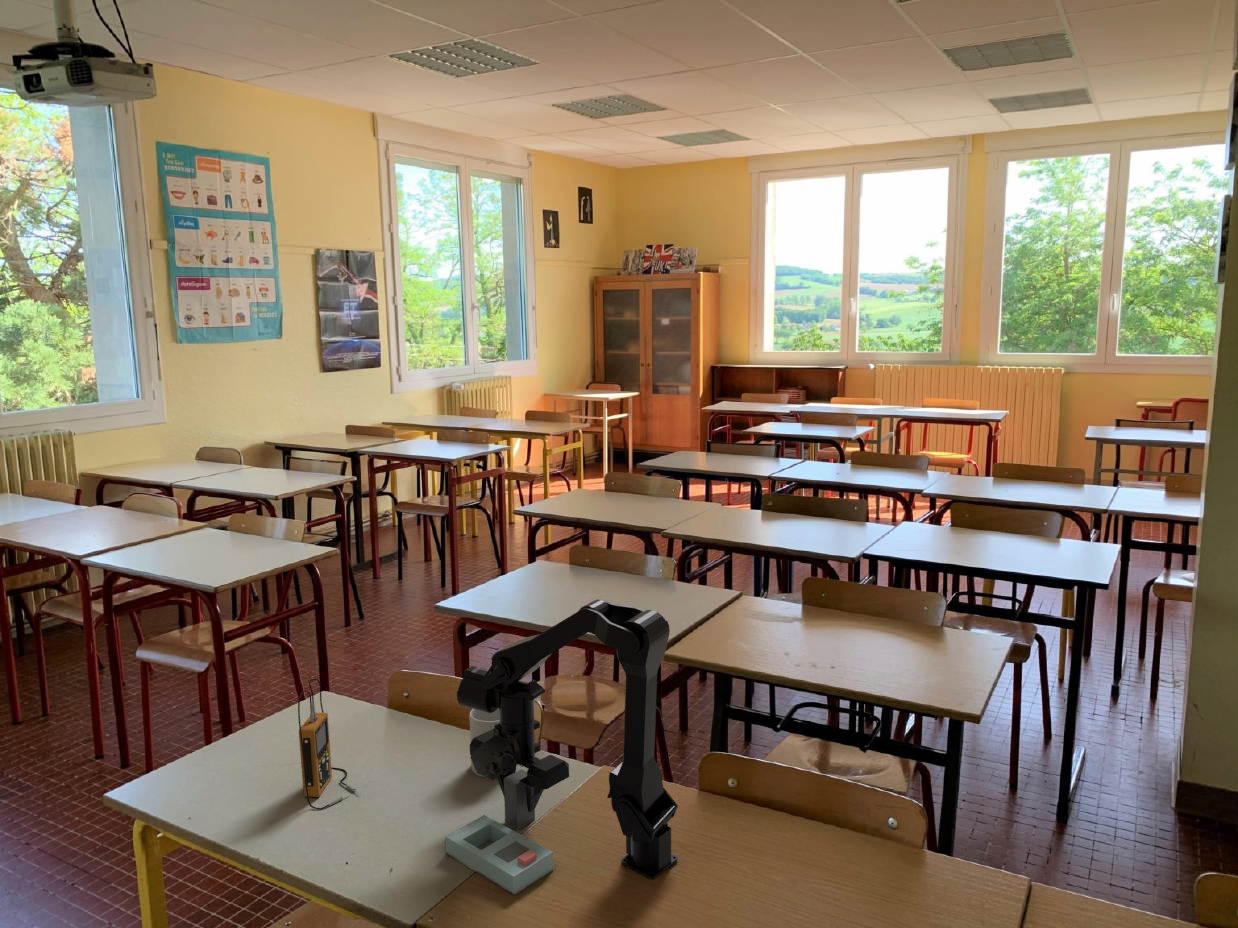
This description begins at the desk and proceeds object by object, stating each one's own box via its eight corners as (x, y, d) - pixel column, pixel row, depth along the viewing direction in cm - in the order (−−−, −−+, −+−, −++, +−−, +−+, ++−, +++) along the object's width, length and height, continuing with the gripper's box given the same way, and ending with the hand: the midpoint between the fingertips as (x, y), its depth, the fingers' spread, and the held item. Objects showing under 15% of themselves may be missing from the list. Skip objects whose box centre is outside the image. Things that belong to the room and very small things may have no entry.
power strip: (553, 869, 139) (552, 847, 139) (514, 895, 133) (513, 871, 133) (484, 831, 150) (484, 810, 149) (445, 853, 144) (444, 831, 143)
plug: (522, 812, 155) (521, 769, 154) (534, 818, 153) (533, 774, 152) (505, 822, 152) (503, 778, 151) (517, 829, 150) (515, 784, 149)
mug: (504, 781, 166) (502, 724, 164) (462, 773, 169) (460, 718, 167) (532, 751, 177) (530, 698, 175) (493, 744, 180) (491, 692, 178)
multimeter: (353, 810, 157) (345, 700, 153) (295, 810, 157) (287, 701, 153) (377, 767, 171) (371, 667, 168) (324, 767, 171) (317, 667, 168)
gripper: (442, 718, 150) (446, 805, 152) (519, 753, 138) (522, 847, 140) (493, 696, 158) (496, 779, 161) (570, 727, 146) (572, 817, 148)
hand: (519, 805), depth 152 cm, fingers open, 5 cm apart
